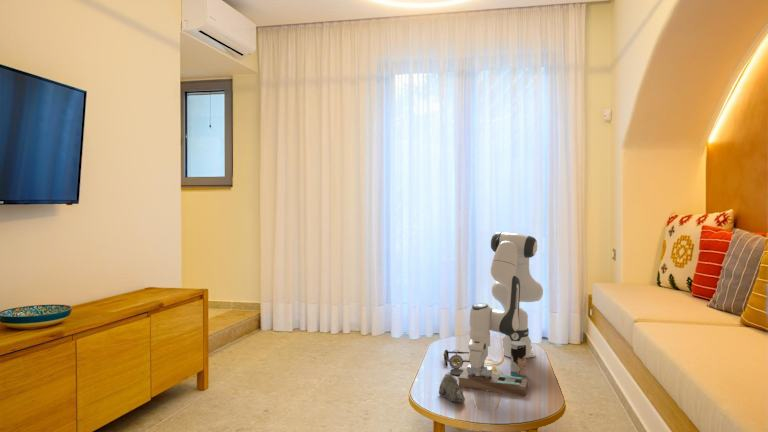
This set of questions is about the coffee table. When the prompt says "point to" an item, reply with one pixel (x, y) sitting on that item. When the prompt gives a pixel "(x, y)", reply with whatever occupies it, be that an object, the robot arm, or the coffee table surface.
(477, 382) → the slotted brown block
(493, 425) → the coffee table surface
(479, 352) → the robot arm
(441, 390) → the mineral rock
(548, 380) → the coffee table surface
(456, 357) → the pocket watch
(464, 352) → the sunglasses
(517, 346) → the cup
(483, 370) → the tall white block
